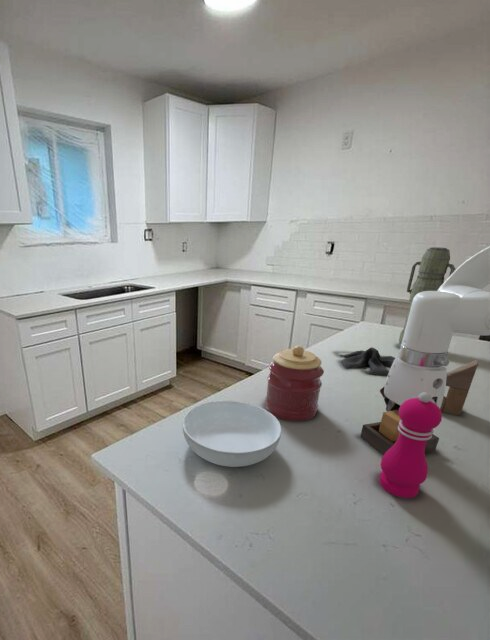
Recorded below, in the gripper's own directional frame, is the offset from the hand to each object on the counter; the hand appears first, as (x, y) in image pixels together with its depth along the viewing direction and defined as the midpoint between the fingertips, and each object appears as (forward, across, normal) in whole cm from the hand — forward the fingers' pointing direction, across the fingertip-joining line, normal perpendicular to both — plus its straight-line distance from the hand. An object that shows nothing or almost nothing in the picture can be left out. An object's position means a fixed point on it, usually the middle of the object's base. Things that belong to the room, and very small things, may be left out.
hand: (399, 432), depth 78 cm
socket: (+3, 0, 0) cm, 3 cm away
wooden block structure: (+3, +11, -22) cm, 25 cm away
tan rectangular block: (0, 0, 0) cm, 0 cm away
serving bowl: (+3, +8, +36) cm, 37 cm away
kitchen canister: (+3, +20, +14) cm, 25 cm away
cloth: (+3, +40, -26) cm, 48 cm away
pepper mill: (+3, -11, +10) cm, 15 cm away
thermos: (+3, +47, -51) cm, 69 cm away
